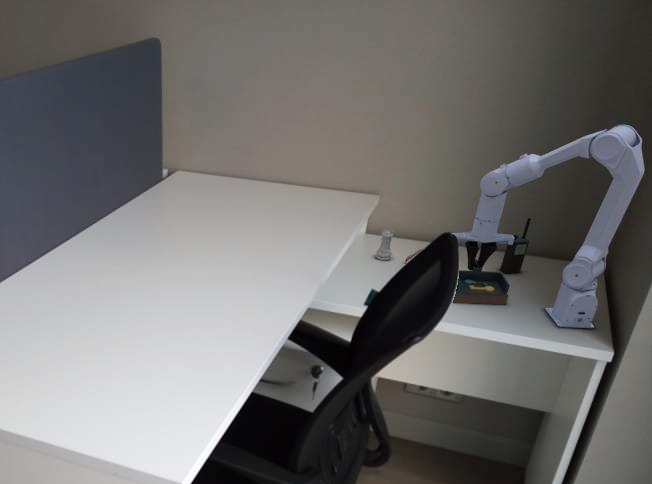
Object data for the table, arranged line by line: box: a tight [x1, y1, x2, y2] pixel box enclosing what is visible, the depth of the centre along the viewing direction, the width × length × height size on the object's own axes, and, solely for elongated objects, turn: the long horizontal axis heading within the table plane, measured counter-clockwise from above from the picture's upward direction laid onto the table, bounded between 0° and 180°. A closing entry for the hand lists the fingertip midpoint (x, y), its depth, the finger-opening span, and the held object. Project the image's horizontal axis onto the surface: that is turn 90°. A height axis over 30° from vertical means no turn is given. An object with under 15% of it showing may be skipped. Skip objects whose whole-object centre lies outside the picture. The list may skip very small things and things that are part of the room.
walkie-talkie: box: [499, 217, 532, 274], centre depth 196 cm, size 5×3×15 cm
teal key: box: [464, 280, 488, 286], centre depth 185 cm, size 5×2×1 cm, turn 82°
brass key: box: [469, 285, 494, 292], centre depth 182 cm, size 6×2×1 cm, turn 82°
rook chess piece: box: [375, 229, 394, 261], centre depth 207 cm, size 4×4×8 cm
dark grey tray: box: [456, 258, 511, 296], centre depth 185 cm, size 11×12×4 cm
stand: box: [452, 293, 509, 305], centre depth 186 cm, size 8×13×2 cm, turn 82°
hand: (474, 269), depth 188 cm, fingers closed on dark grey tray, 2 cm apart
